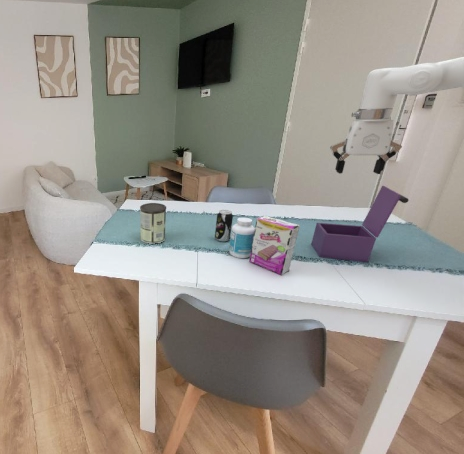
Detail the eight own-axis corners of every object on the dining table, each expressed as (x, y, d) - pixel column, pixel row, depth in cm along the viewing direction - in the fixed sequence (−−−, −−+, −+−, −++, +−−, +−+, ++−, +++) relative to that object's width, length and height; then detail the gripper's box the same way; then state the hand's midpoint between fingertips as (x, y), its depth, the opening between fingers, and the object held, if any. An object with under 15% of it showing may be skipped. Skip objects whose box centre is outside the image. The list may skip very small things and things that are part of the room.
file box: (319, 257, 101) (325, 234, 97) (311, 244, 110) (316, 222, 106) (367, 262, 96) (376, 238, 93) (355, 248, 105) (362, 225, 102)
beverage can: (229, 243, 113) (233, 214, 109) (213, 241, 116) (216, 213, 111) (230, 237, 118) (233, 209, 113) (215, 235, 121) (218, 208, 116)
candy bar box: (248, 262, 100) (255, 218, 93) (256, 257, 102) (264, 214, 96) (281, 276, 91) (292, 228, 85) (289, 271, 94) (300, 224, 87)
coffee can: (148, 231, 127) (149, 201, 122) (169, 237, 121) (171, 205, 115) (135, 240, 120) (134, 208, 115) (156, 246, 114) (157, 213, 108)
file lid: (399, 194, 86) (417, 197, 85) (382, 185, 95) (398, 188, 94) (375, 237, 93) (392, 240, 91) (361, 224, 102) (376, 227, 101)
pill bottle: (255, 255, 104) (261, 220, 99) (242, 261, 101) (248, 225, 95) (236, 247, 110) (241, 214, 105) (224, 253, 107) (228, 219, 101)
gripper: (342, 117, 85) (328, 175, 92) (419, 114, 79) (398, 176, 86) (333, 116, 92) (321, 170, 98) (404, 113, 86) (386, 170, 92)
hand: (357, 172), depth 92 cm, fingers open, 9 cm apart
